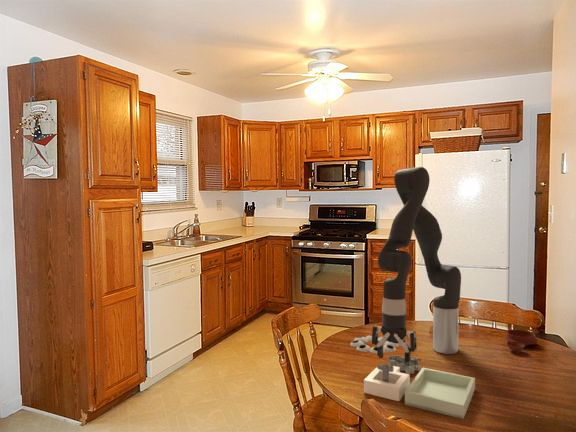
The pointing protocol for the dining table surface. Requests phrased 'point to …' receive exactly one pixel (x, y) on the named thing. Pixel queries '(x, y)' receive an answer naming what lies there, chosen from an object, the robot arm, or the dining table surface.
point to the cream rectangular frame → (387, 384)
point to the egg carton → (400, 363)
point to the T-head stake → (385, 371)
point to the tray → (441, 392)
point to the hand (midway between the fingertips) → (393, 360)
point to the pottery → (519, 339)
